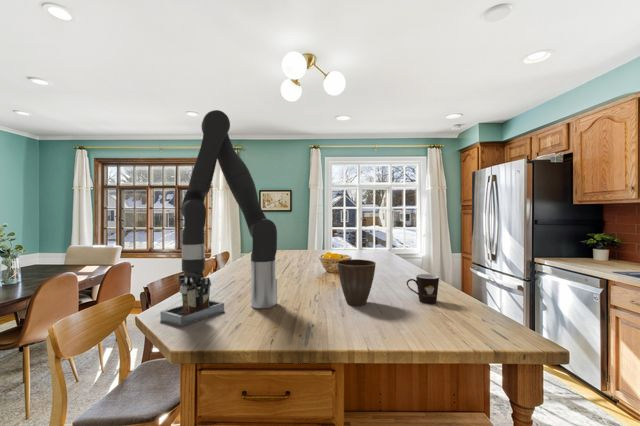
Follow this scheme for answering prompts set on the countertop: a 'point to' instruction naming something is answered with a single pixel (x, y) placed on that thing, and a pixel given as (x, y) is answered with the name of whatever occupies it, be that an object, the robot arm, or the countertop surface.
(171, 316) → the collar
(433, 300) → the coffee mug
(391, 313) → the countertop surface
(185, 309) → the food container
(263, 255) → the robot arm
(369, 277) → the plant pot
